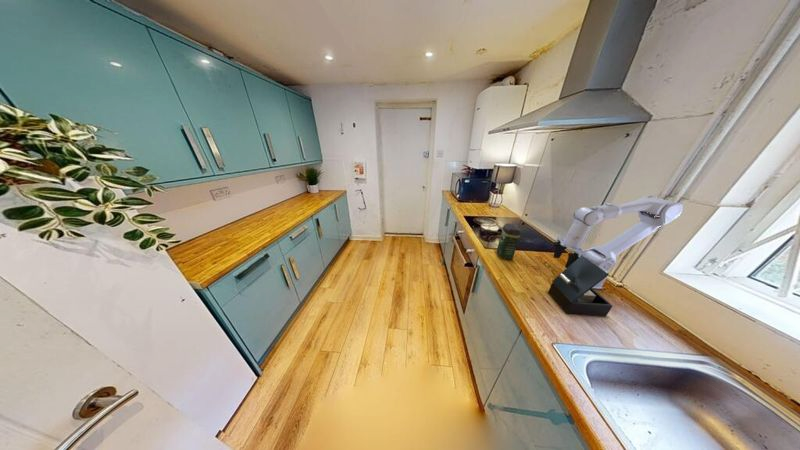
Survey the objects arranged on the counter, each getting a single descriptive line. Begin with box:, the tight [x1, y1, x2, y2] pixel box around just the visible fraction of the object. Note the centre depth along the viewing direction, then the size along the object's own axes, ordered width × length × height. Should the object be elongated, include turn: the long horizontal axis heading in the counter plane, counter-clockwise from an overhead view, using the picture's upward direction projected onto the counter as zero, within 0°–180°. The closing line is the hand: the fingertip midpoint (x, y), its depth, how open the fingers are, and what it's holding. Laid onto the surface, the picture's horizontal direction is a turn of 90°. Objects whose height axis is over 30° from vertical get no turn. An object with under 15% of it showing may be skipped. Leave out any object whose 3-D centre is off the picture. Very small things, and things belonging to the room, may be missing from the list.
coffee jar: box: [496, 223, 522, 261], centre depth 107 cm, size 10×8×19 cm
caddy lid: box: [551, 255, 610, 303], centre depth 74 cm, size 15×11×5 cm
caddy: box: [547, 282, 613, 318], centre depth 79 cm, size 14×11×6 cm
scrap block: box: [577, 290, 596, 303], centre depth 80 cm, size 4×4×4 cm
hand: (561, 262), depth 88 cm, fingers open, 7 cm apart
